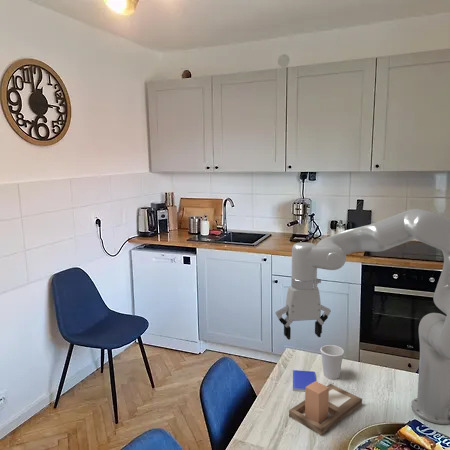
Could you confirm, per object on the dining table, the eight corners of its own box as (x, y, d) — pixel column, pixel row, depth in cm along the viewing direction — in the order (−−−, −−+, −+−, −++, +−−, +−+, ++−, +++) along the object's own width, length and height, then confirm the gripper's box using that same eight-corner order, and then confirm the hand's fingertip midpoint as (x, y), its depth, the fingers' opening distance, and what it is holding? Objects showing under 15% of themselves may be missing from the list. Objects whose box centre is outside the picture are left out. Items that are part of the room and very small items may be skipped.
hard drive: (317, 389, 135) (315, 371, 147) (292, 388, 137) (292, 369, 149) (317, 394, 136) (315, 375, 148) (292, 392, 137) (292, 373, 149)
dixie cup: (343, 382, 141) (343, 356, 139) (319, 379, 144) (319, 353, 142) (343, 371, 149) (344, 346, 147) (320, 368, 151) (321, 343, 150)
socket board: (361, 404, 128) (362, 398, 128) (321, 435, 114) (321, 428, 114) (330, 389, 137) (330, 383, 137) (289, 416, 123) (289, 409, 123)
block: (328, 417, 122) (328, 387, 121) (318, 424, 119) (318, 393, 118) (314, 410, 126) (315, 380, 125) (305, 416, 123) (305, 387, 121)
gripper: (326, 278, 125) (324, 329, 127) (273, 281, 122) (272, 333, 125) (336, 285, 117) (334, 339, 120) (279, 288, 115) (279, 344, 118)
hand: (302, 336), depth 123 cm, fingers open, 9 cm apart
